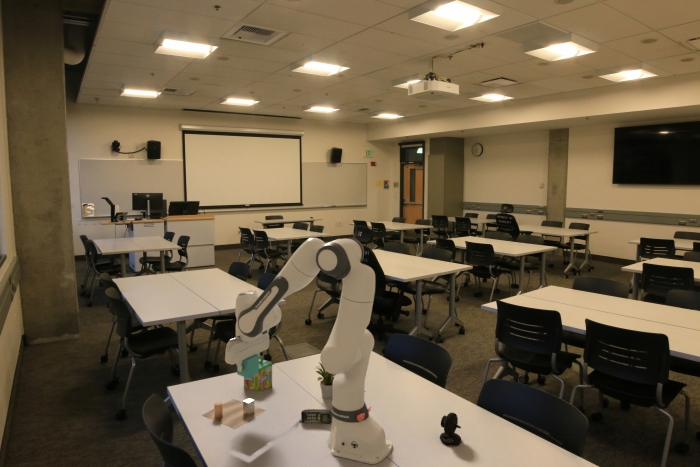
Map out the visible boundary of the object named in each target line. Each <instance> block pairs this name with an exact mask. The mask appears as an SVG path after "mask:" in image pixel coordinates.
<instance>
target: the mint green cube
mask: <svg viewBox="0 0 700 467" xmlns="http://www.w3.org/2000/svg"><path fill="white" fill-rule="evenodd" d="M259 359H260V358H259V355H253V356H251V357H249V358H247V359H244V360H242V363H241V365H242V366H244V370H243V371H241V372H240V371H238V366H237V365H236V374H237V375H238V376H241V377H243V378H244V377H246V378H249V377H251V376H253V375H255V374H257V373H259Z"/></svg>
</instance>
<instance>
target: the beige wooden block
mask: <svg viewBox="0 0 700 467" xmlns="http://www.w3.org/2000/svg"><path fill="white" fill-rule="evenodd" d="M242 402H243V414H246V415H251V414H252V413H254V406H255V399H253V398H249V397H248V398H247V399H245V400H243V401H242Z"/></svg>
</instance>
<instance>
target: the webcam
mask: <svg viewBox="0 0 700 467" xmlns="http://www.w3.org/2000/svg"><path fill="white" fill-rule="evenodd" d="M458 421H459V418H458V415H457V413H455V412H449V413H448V414H447V415H445V414H444V415H443V416H442V418H441V420H440V427H441V428H443V432H441V434H440V435H439V440H440V442H441V443H442V444H443V445H446V446H449V447H456V446H459V445H460V444H461V443H462V437H461V436H460V435H459V434H458V433H456V431H457V429H461V428H462V427H461V426H460V425H458ZM445 438H447V439H450V440H447V439H445ZM451 440H452V441H451Z"/></svg>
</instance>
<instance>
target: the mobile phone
mask: <svg viewBox="0 0 700 467" xmlns="http://www.w3.org/2000/svg"><path fill="white" fill-rule="evenodd" d="M300 415H301V423H302V424H321V425H323V424H324V425H328V424H332V414H331V409H326V408H325V409H323V408H322V409H317V408H316V409H315V408H313V409H310V408H309V409H304V410H302V411H301V414H300Z"/></svg>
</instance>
